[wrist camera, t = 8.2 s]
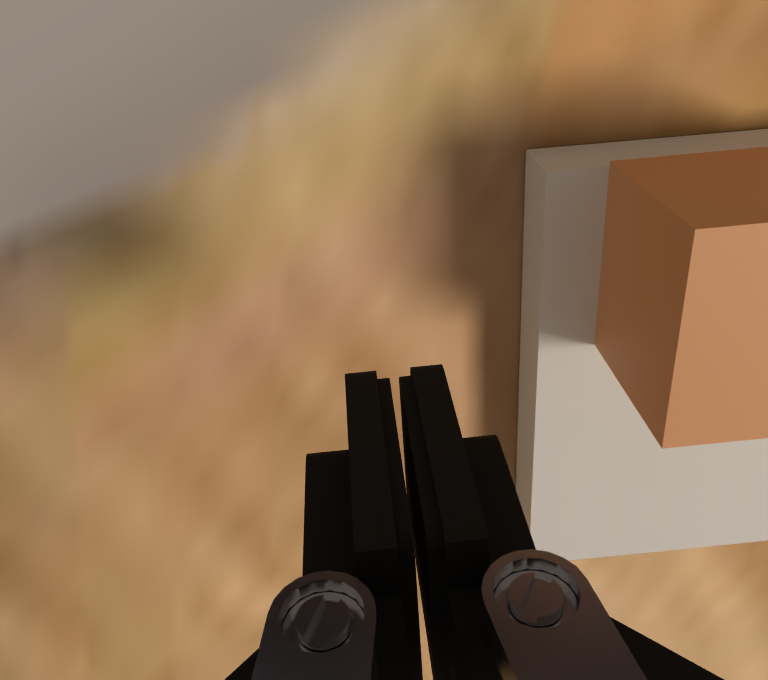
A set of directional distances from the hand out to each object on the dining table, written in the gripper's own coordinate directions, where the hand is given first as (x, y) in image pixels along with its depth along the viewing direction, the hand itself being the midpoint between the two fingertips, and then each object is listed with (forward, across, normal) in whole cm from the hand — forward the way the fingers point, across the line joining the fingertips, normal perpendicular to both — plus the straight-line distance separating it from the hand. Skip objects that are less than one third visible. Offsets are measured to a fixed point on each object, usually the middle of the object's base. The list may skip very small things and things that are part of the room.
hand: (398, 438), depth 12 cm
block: (+6, -8, 0) cm, 10 cm away
